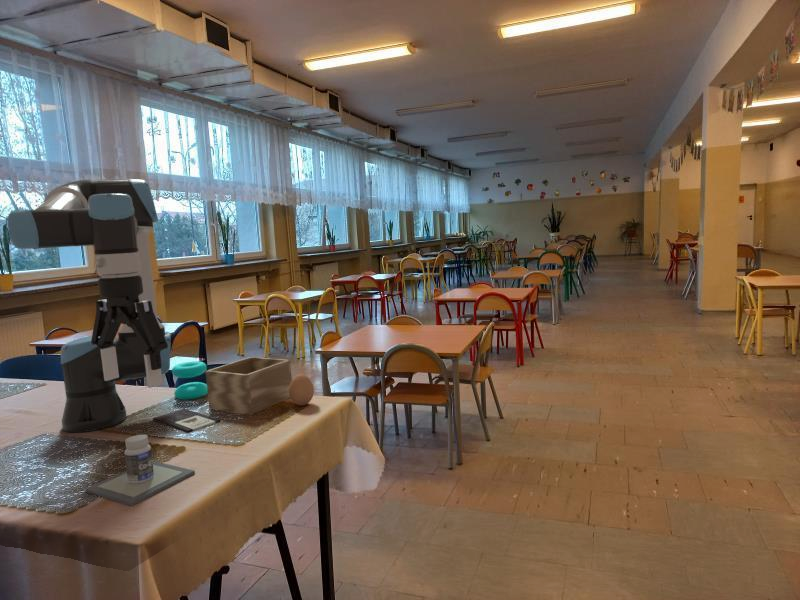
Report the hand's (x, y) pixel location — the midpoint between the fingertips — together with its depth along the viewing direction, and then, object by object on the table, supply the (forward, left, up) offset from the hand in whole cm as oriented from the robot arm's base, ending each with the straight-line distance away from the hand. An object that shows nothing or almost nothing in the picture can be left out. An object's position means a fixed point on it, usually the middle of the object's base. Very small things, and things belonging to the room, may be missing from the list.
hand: (132, 382), depth 106 cm
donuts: (-38, +44, -20) cm, 62 cm away
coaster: (+2, -2, -20) cm, 20 cm away
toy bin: (-14, +45, -20) cm, 51 cm away
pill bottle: (+2, -2, -19) cm, 19 cm away
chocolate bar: (-20, +27, -20) cm, 39 cm away
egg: (+2, +48, -20) cm, 52 cm away
